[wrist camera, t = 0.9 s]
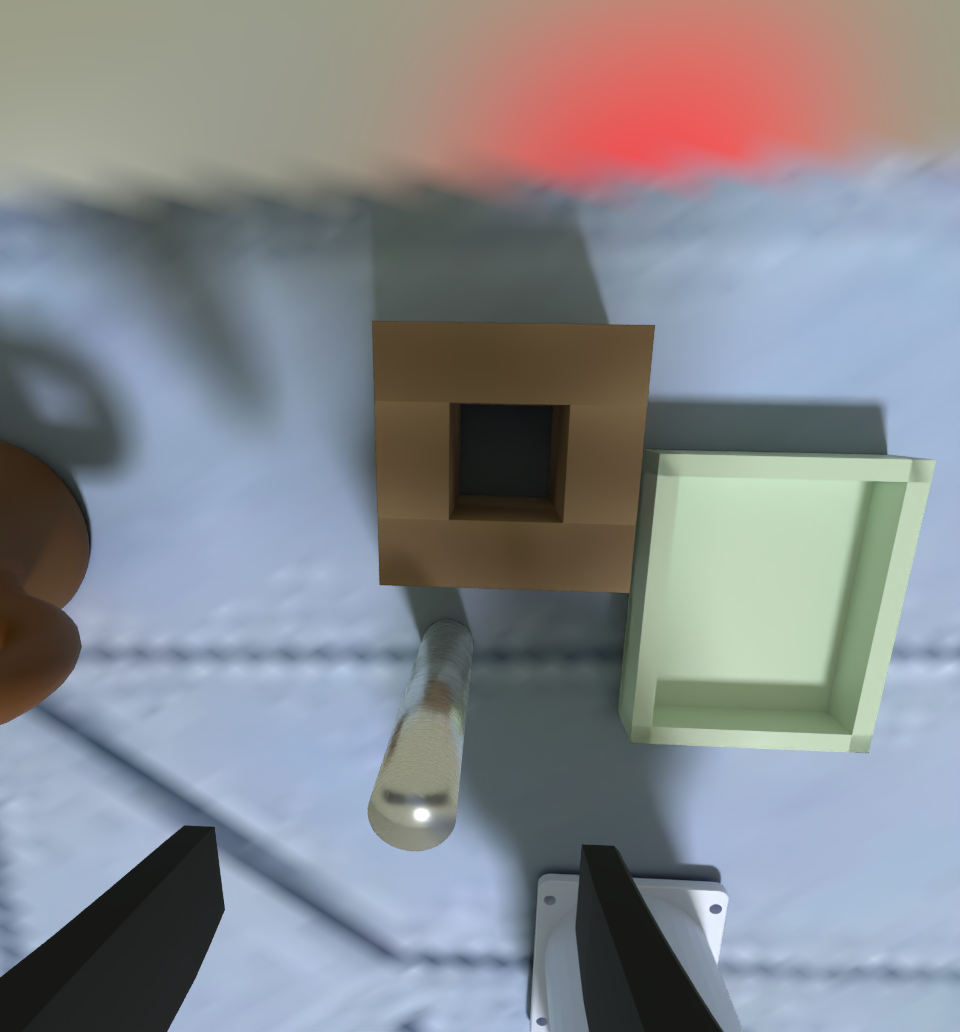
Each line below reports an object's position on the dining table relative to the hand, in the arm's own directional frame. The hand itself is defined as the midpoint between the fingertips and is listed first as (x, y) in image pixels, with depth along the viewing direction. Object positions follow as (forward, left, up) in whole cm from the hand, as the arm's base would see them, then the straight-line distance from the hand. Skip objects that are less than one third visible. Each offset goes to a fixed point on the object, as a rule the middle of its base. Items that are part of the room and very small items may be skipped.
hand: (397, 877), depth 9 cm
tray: (+2, -11, -10) cm, 15 cm away
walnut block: (+7, -2, -10) cm, 12 cm away
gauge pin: (0, 0, -10) cm, 10 cm away
